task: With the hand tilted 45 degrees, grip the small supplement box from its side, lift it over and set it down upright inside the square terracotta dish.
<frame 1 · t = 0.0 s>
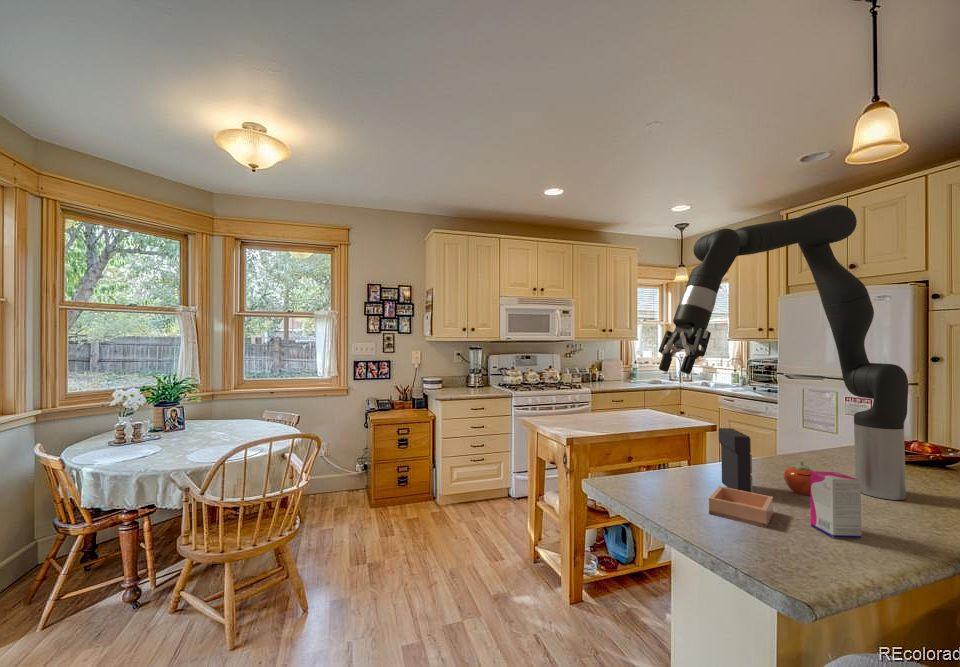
hand: (673, 371, 97), 31 cm above the countertop, tool tilted 20°, fingers open, 8 cm apart
dish: (741, 513, 92), on the countertop
calculator: (735, 490, 108), on the countertop
supplement box: (835, 533, 83), on the countertop
tomato: (801, 493, 106), on the countertop
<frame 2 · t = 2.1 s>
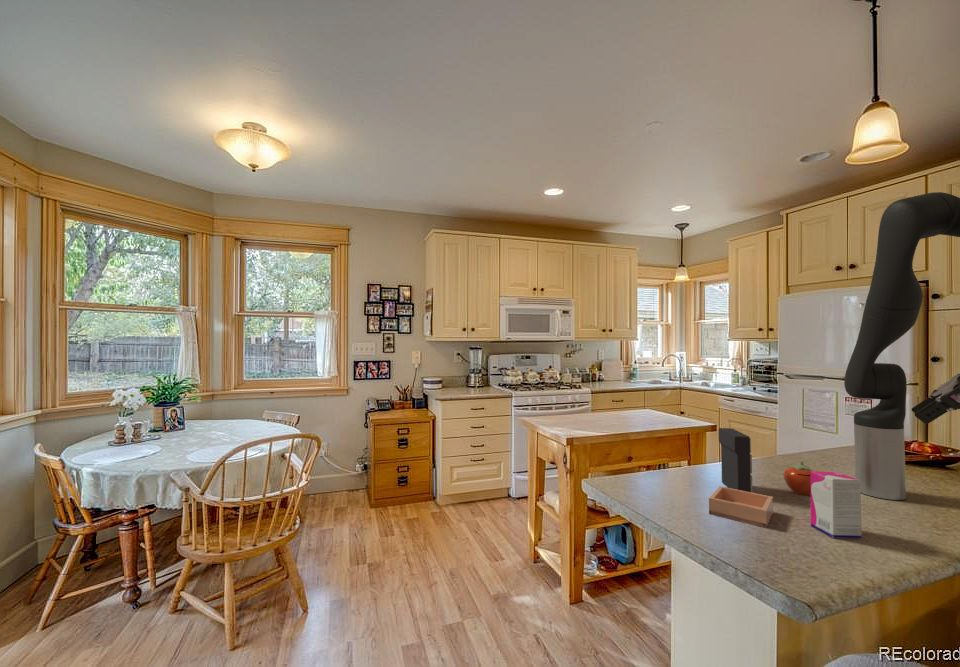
hand: (917, 416, 76), 25 cm above the countertop, tool tilted 45°, fingers open, 8 cm apart
nothing on the countertop moved.
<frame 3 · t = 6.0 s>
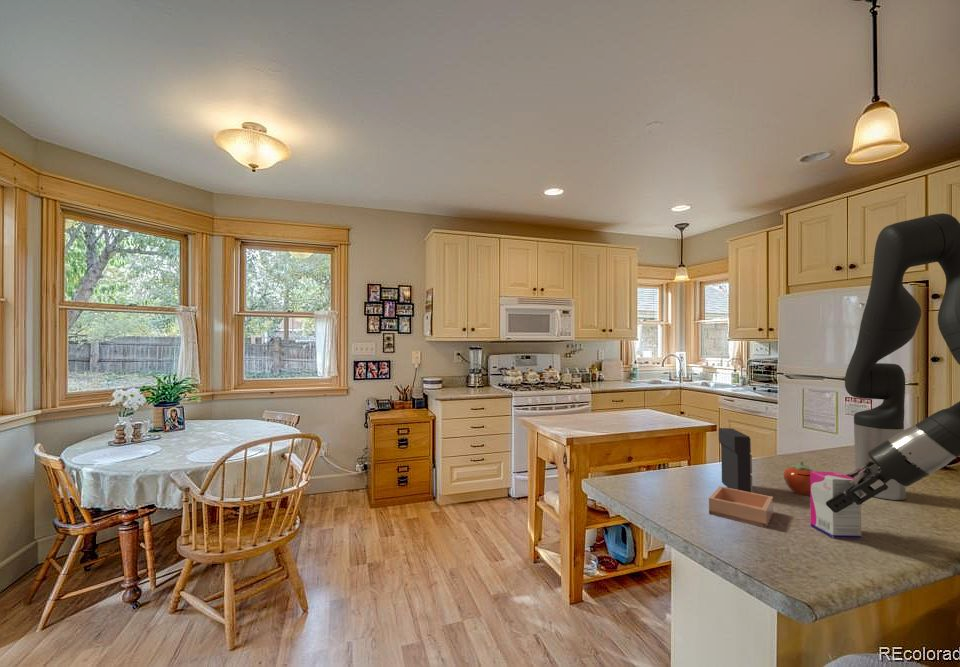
hand: (830, 501, 84), 6 cm above the countertop, tool tilted 45°, fingers open, 8 cm apart
supplement box: (835, 533, 83), on the countertop, touching gripper
everything else where it was.
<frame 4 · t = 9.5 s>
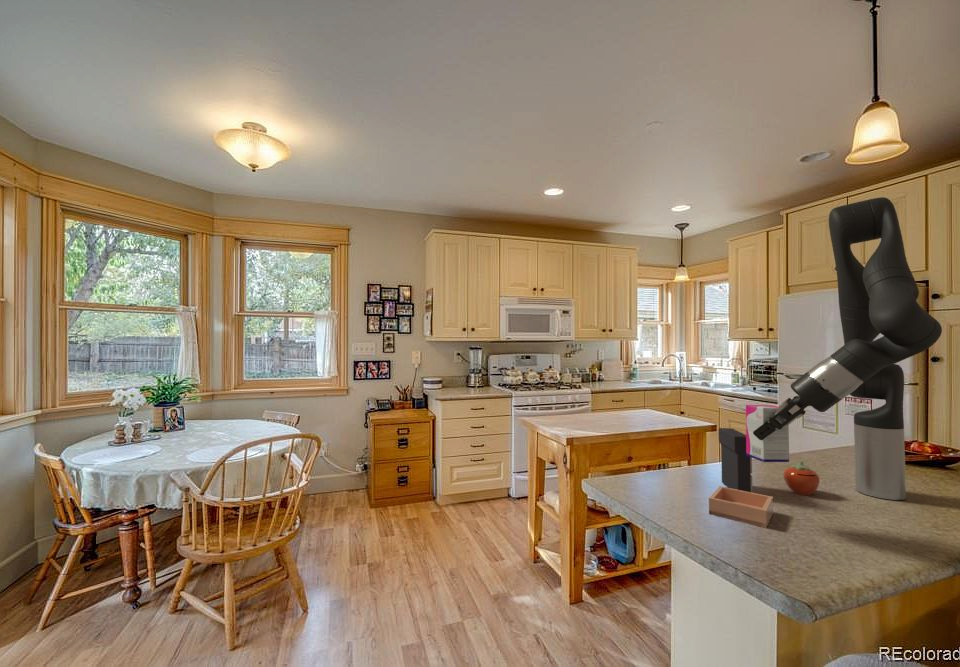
hand: (759, 433, 90), 18 cm above the countertop, tool tilted 45°, fingers closed on supplement box, 8 cm apart
supplement box: (767, 459, 89), point 13 cm above the countertop, touching gripper
everything else where it was.
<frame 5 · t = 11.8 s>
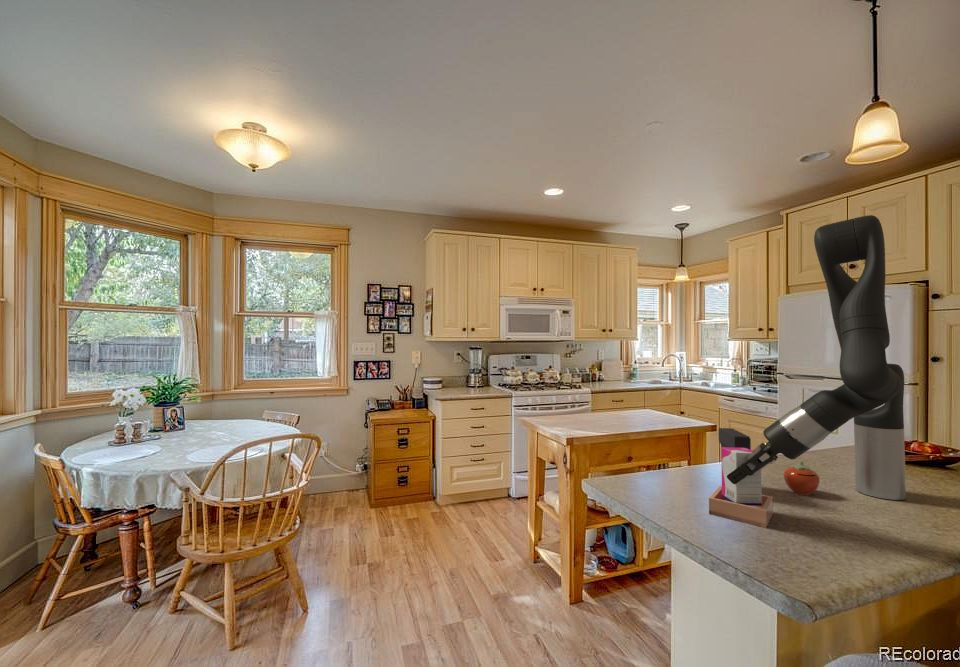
hand: (734, 475, 93), 8 cm above the countertop, tool tilted 45°, fingers closed on supplement box, 8 cm apart
supplement box: (741, 502, 92), point 3 cm above the countertop, touching gripper
everything else where it was.
when the fingers open (7 cm above the countertop, at t = 12.7 s): supplement box drops 1 cm, resting on dish.
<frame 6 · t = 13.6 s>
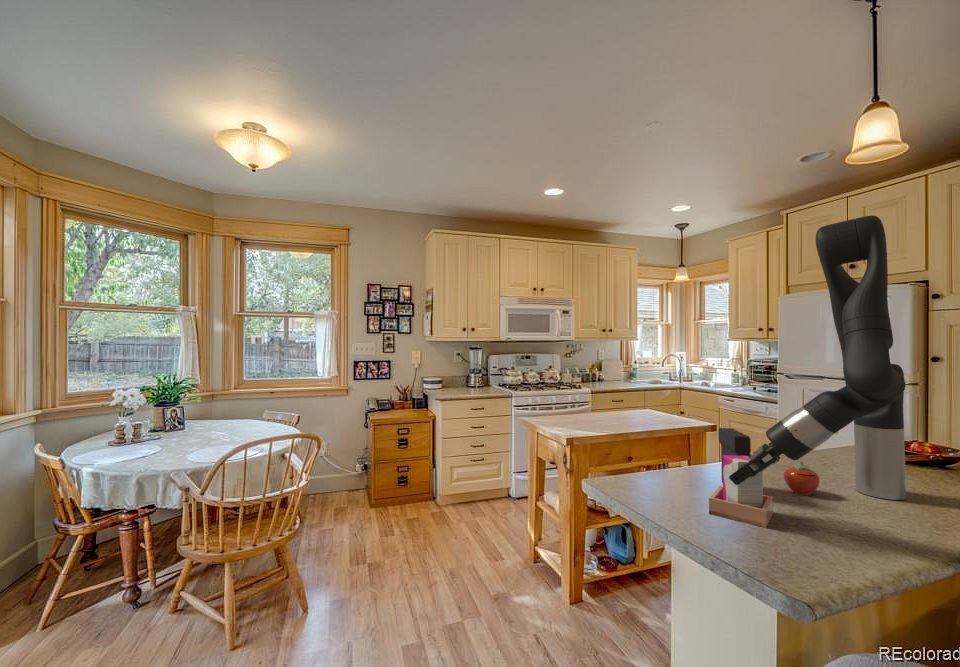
hand: (736, 476, 93), 8 cm above the countertop, tool tilted 45°, fingers open, 8 cm apart
supplement box: (742, 510, 92), point 1 cm above the countertop, touching dish, gripper
everything else where it was.
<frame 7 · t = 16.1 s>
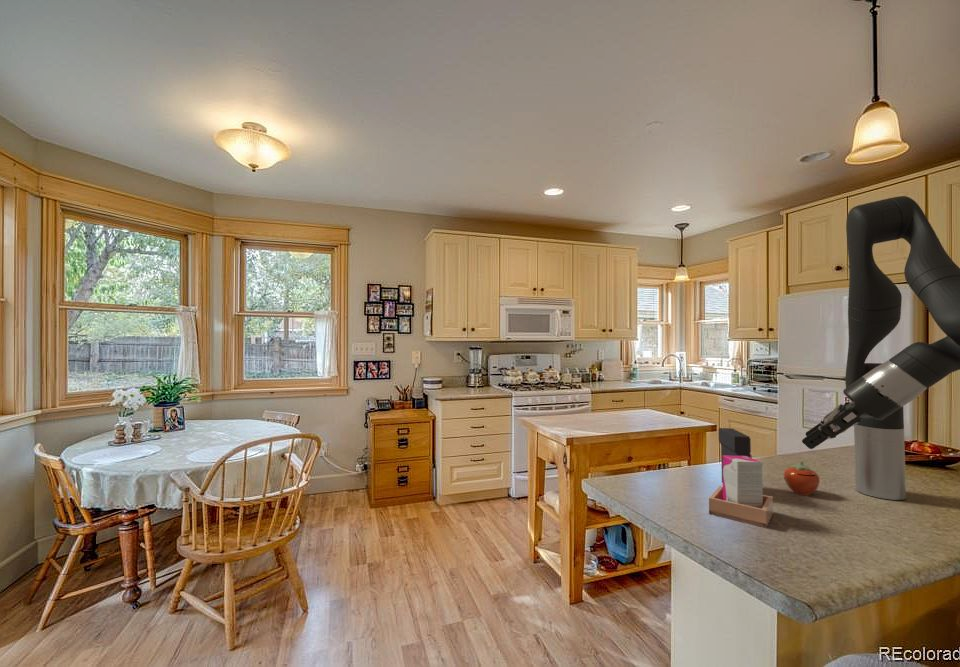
hand: (807, 441, 85), 18 cm above the countertop, tool tilted 45°, fingers open, 8 cm apart
supplement box: (742, 510, 92), point 1 cm above the countertop, touching dish
everything else where it was.
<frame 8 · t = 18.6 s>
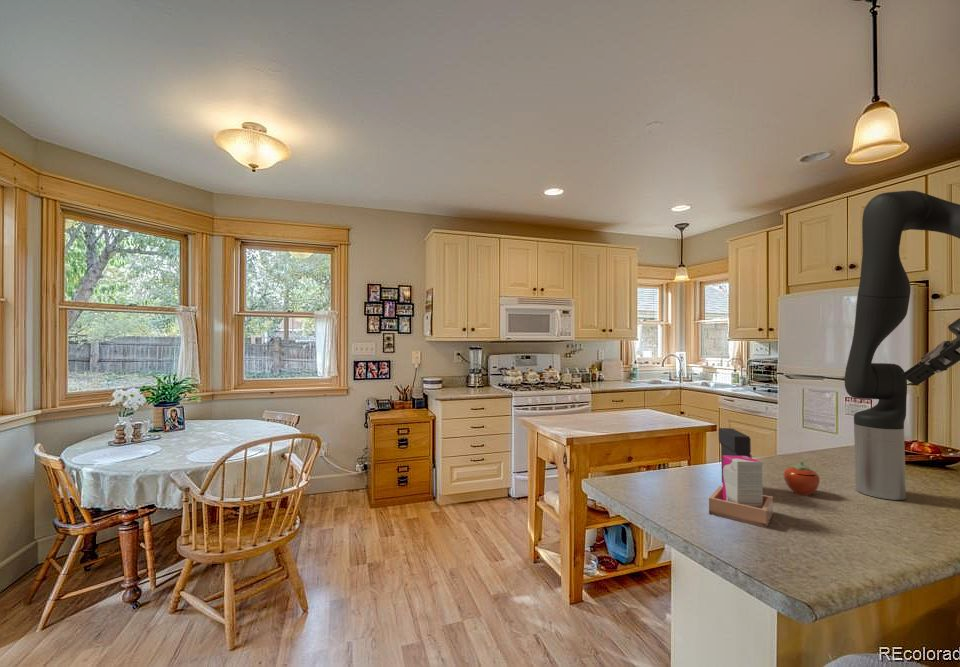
hand: (908, 380, 84), 31 cm above the countertop, tool tilted 45°, fingers open, 8 cm apart
nothing on the countertop moved.
at the end: supplement box 0.3 cm off-centre on the dish, point 0.6 cm above the dish's base; supplement box tilted 0°; the gripper is holding nothing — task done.
